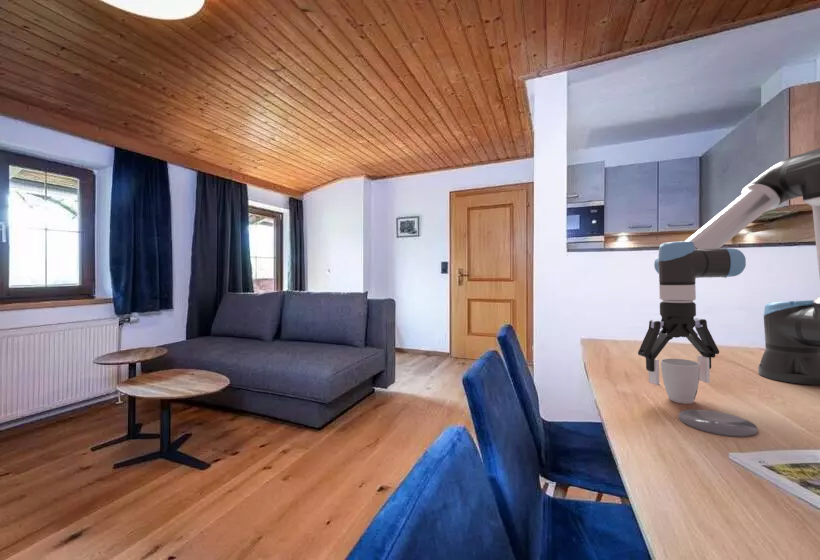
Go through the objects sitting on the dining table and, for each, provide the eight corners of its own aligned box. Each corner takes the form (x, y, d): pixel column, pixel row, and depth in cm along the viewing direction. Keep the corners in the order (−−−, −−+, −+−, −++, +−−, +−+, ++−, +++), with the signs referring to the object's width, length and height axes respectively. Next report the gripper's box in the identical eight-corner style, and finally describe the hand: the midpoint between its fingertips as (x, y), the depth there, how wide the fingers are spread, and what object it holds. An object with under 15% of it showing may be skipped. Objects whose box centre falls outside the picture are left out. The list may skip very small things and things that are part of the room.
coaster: (716, 410, 85) (716, 407, 85) (775, 434, 72) (775, 431, 72) (664, 413, 84) (664, 411, 84) (715, 438, 71) (715, 436, 71)
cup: (708, 406, 87) (707, 366, 87) (671, 405, 89) (670, 366, 89) (689, 395, 95) (688, 358, 95) (656, 394, 97) (654, 358, 97)
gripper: (709, 298, 96) (711, 376, 96) (621, 301, 95) (623, 380, 95) (736, 300, 89) (738, 384, 89) (641, 303, 87) (643, 389, 88)
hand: (678, 382), depth 92 cm, fingers open, 13 cm apart
